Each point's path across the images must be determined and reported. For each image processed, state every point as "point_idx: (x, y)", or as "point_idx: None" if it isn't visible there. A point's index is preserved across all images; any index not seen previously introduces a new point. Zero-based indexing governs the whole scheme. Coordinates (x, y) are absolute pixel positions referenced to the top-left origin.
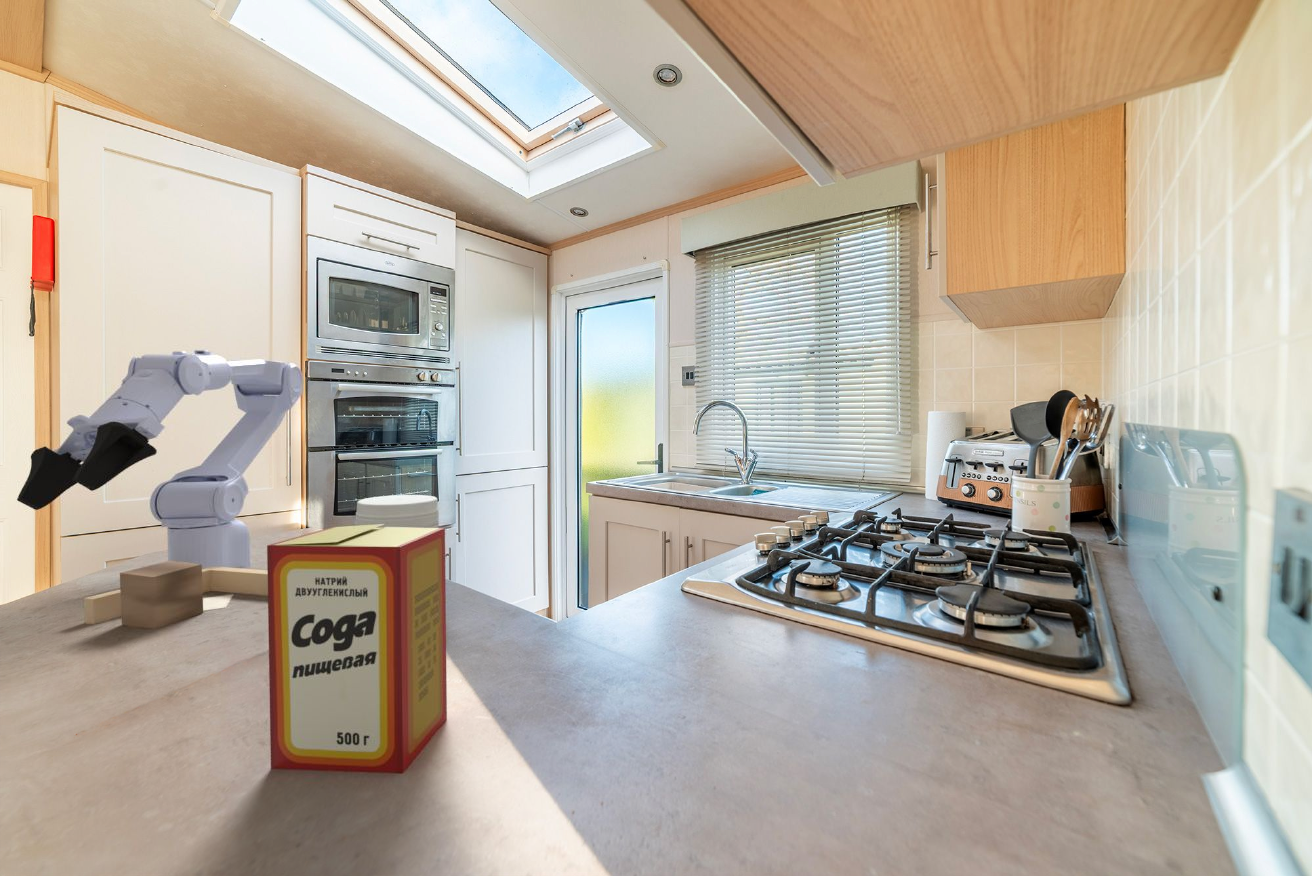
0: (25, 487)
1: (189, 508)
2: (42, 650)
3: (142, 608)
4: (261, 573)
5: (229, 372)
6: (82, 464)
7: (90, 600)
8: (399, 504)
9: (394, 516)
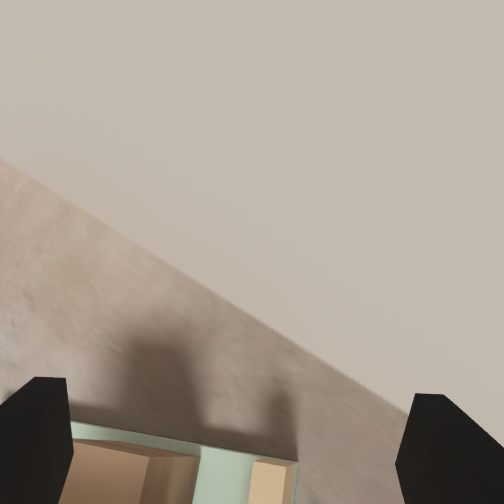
0: (465, 436)
1: None
2: (288, 381)
3: (125, 445)
4: None
5: None
6: (4, 440)
7: (263, 462)
8: None
9: None
